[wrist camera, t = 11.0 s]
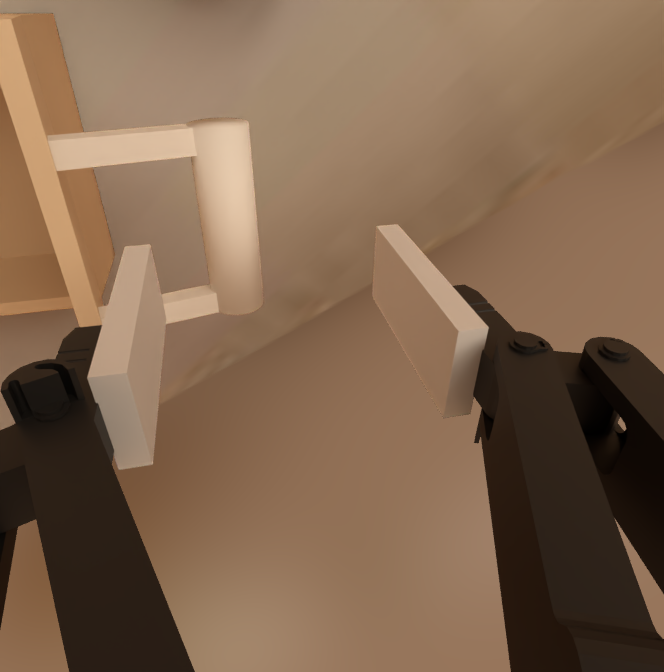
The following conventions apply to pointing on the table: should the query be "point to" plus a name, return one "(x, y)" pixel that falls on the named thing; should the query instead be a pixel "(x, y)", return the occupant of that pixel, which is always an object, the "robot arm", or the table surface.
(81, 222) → the carton
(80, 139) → the flap
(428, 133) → the table surface
